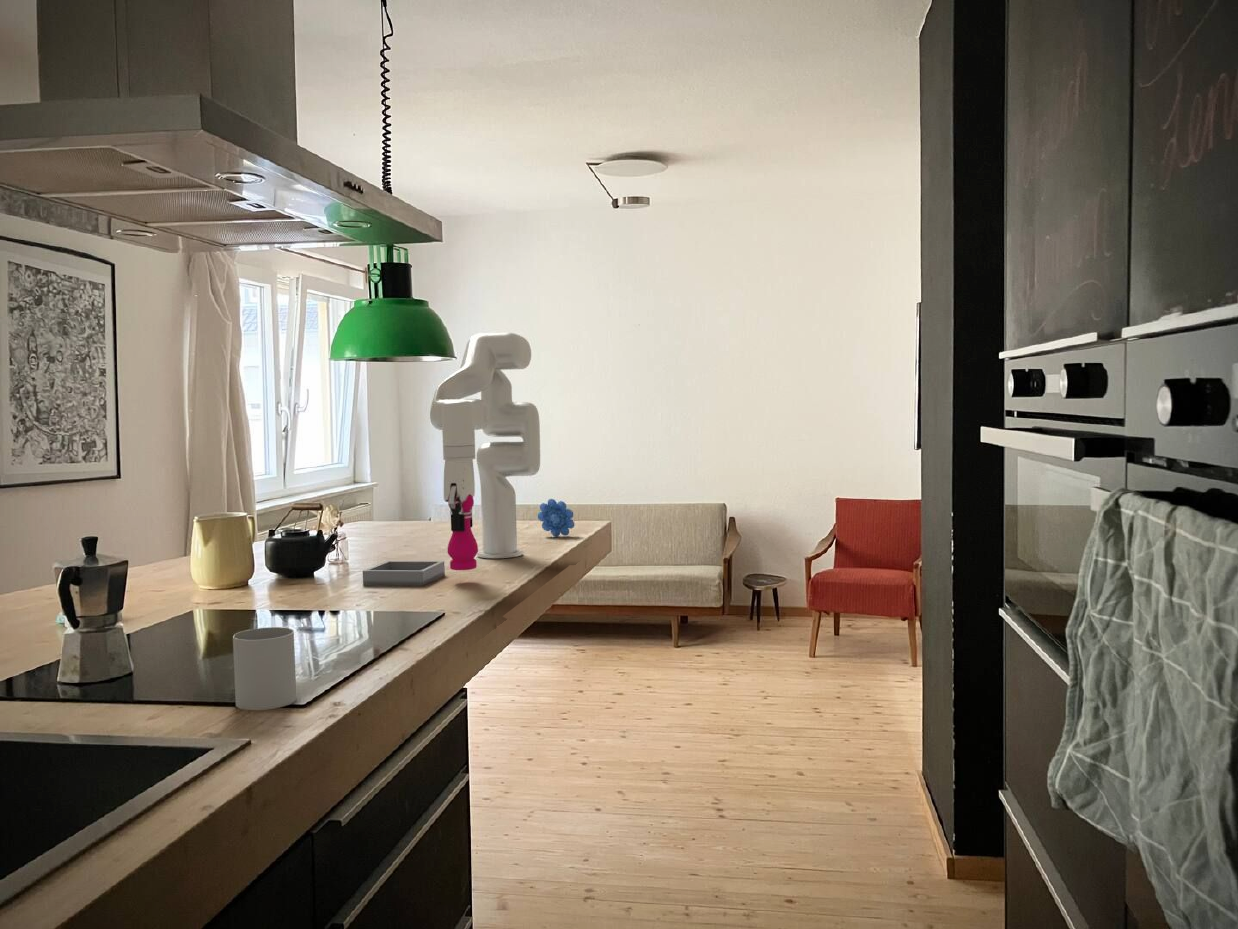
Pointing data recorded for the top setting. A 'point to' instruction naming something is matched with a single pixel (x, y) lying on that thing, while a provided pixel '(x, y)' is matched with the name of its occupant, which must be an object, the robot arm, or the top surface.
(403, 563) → the tray
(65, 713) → the top surface
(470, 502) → the pepper mill
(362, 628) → the top surface
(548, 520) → the blue toy flower
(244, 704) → the cup
